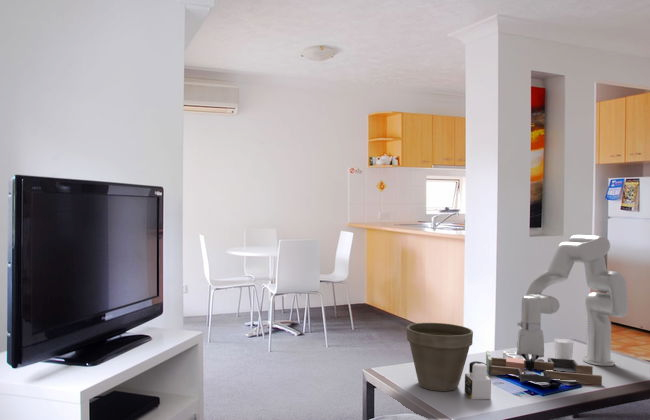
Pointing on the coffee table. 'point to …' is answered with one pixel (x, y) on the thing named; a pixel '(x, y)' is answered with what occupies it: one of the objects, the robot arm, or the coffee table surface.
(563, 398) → the coffee table surface
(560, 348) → the white cup
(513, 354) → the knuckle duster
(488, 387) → the medicine bottle
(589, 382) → the channel
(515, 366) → the salmon pink square block
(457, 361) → the plant pot
